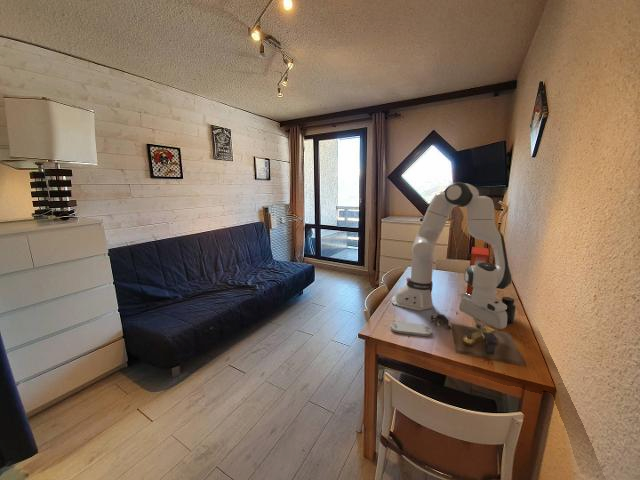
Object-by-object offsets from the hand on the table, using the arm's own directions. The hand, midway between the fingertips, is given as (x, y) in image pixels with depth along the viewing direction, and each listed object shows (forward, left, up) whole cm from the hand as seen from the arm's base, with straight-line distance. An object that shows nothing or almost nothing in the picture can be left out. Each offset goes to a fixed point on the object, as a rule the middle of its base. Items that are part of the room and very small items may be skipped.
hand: (479, 328), depth 120 cm
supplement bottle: (+14, +18, -3) cm, 23 cm away
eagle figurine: (-16, +2, -3) cm, 16 cm away
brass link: (-2, -8, -1) cm, 8 cm away
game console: (-29, -8, -3) cm, 30 cm away
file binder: (+2, +31, -3) cm, 31 cm away
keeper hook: (+1, -14, -1) cm, 14 cm away
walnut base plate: (0, -8, -3) cm, 9 cm away
